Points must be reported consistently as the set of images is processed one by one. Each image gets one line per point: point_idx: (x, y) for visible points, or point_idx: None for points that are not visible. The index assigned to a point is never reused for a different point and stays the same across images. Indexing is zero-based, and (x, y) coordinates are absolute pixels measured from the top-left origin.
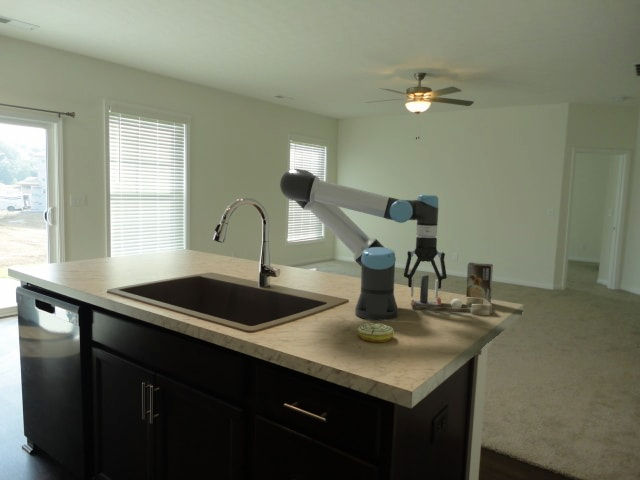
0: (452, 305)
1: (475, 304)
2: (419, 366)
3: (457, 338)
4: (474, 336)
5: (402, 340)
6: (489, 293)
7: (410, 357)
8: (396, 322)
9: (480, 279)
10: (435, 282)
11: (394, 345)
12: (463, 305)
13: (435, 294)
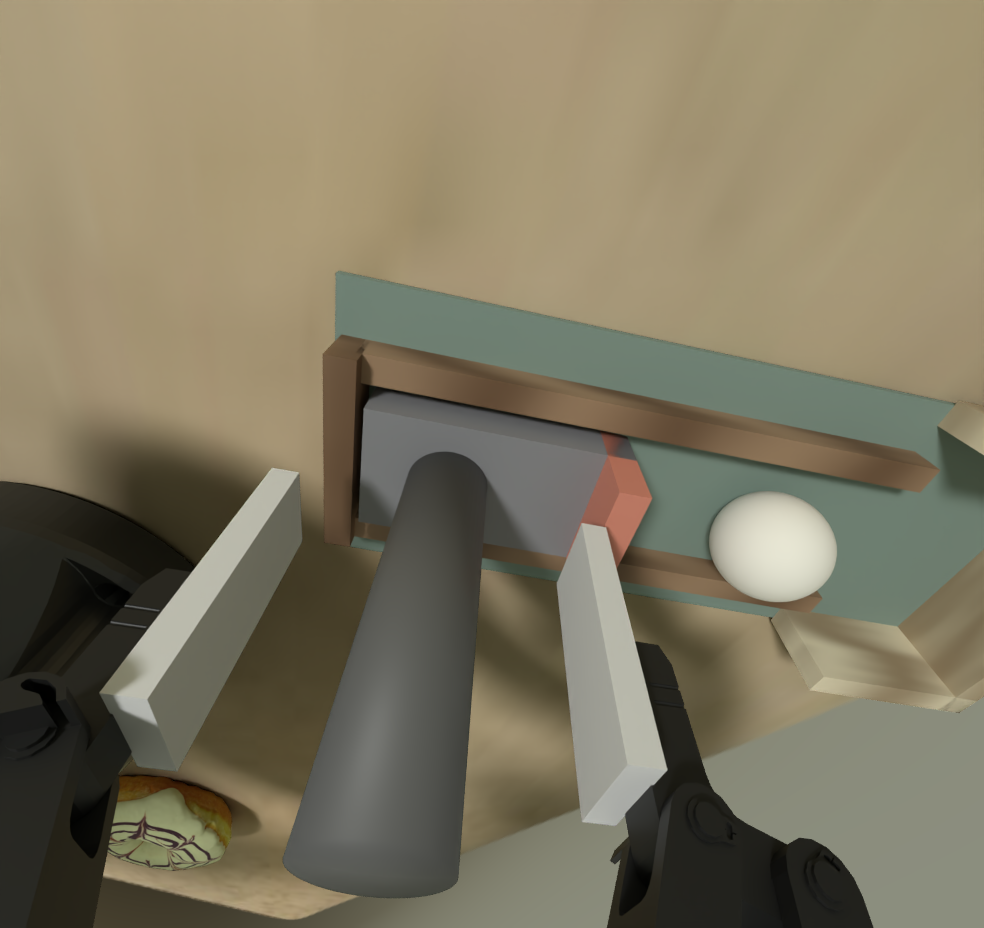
0: (710, 552)
1: (841, 688)
2: (316, 889)
3: (473, 817)
4: (548, 810)
5: (273, 816)
6: None
7: None
8: (234, 699)
9: None
10: (610, 705)
11: (249, 834)
12: (878, 480)
13: (566, 593)
